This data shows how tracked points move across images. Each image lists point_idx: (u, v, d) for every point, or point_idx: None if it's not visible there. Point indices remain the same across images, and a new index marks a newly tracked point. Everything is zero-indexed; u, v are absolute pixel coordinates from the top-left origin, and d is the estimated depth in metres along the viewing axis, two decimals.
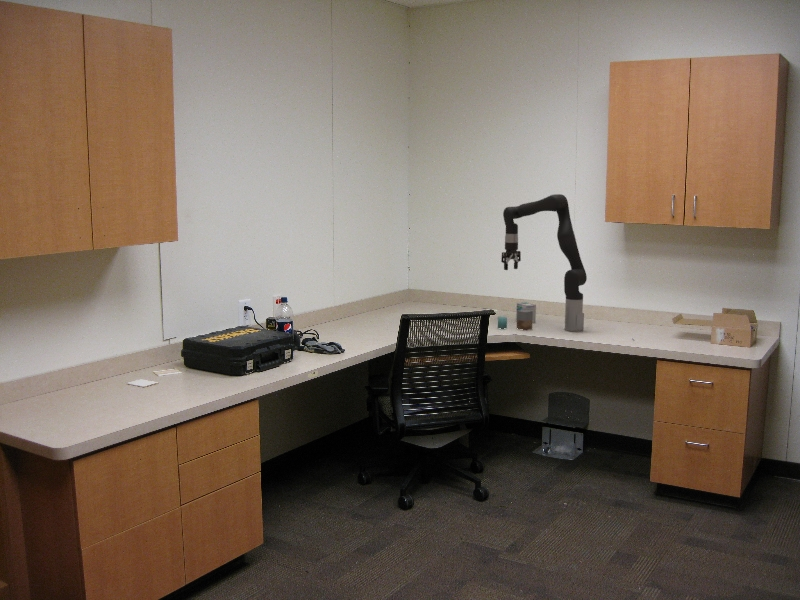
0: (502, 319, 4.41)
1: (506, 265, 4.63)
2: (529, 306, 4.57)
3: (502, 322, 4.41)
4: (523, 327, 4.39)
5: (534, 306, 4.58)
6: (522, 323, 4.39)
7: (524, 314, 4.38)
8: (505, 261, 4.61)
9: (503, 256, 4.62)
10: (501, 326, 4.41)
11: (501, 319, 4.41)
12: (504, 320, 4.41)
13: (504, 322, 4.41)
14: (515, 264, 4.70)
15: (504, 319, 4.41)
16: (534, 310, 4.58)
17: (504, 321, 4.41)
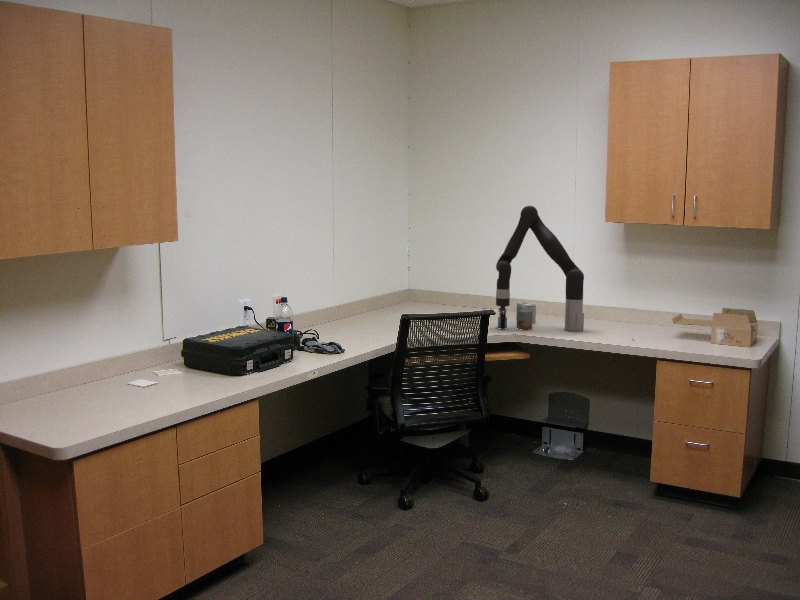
0: None
1: (504, 323, 4.40)
2: (529, 306, 4.57)
3: None
4: (523, 327, 4.39)
5: (534, 306, 4.58)
6: (522, 323, 4.39)
7: (524, 314, 4.37)
8: None
9: (503, 315, 4.36)
10: None
11: None
12: None
13: None
14: None
15: None
16: (534, 310, 4.58)
17: None
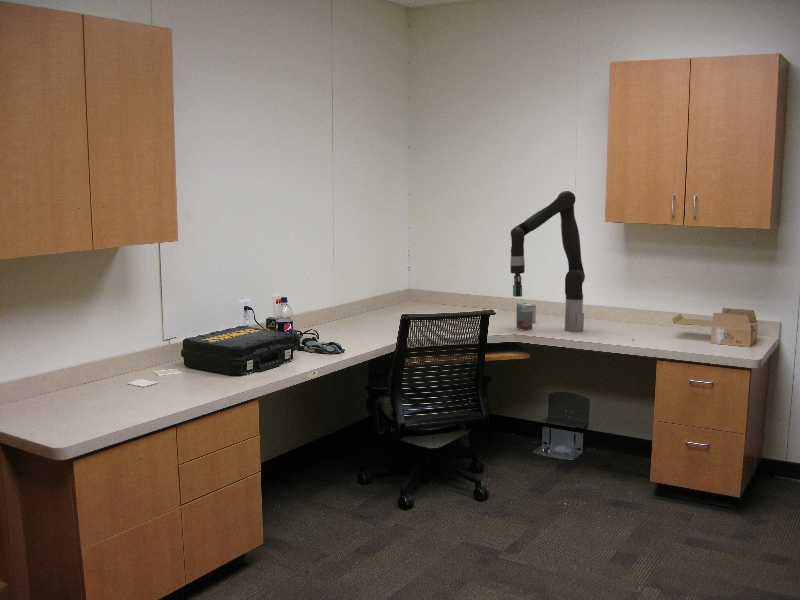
0: None
1: (519, 291, 4.36)
2: (529, 306, 4.57)
3: None
4: (523, 327, 4.39)
5: (534, 306, 4.58)
6: (522, 323, 4.39)
7: (524, 314, 4.37)
8: None
9: (519, 282, 4.33)
10: None
11: None
12: None
13: None
14: None
15: None
16: (534, 310, 4.58)
17: None
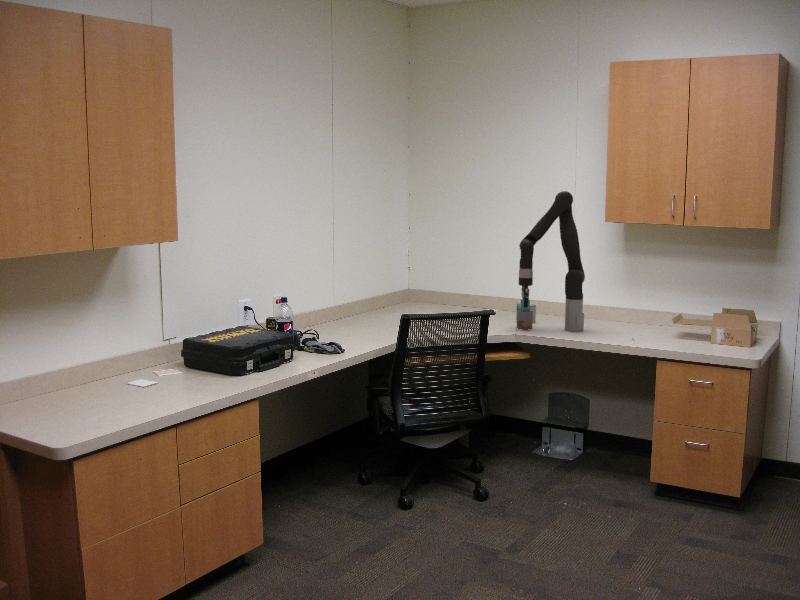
0: None
1: (527, 302, 4.35)
2: None
3: None
4: (523, 327, 4.39)
5: (534, 306, 4.58)
6: (523, 323, 4.39)
7: (524, 314, 4.37)
8: (528, 298, 4.33)
9: (526, 293, 4.33)
10: (524, 308, 4.38)
11: None
12: None
13: None
14: None
15: None
16: (534, 310, 4.58)
17: None
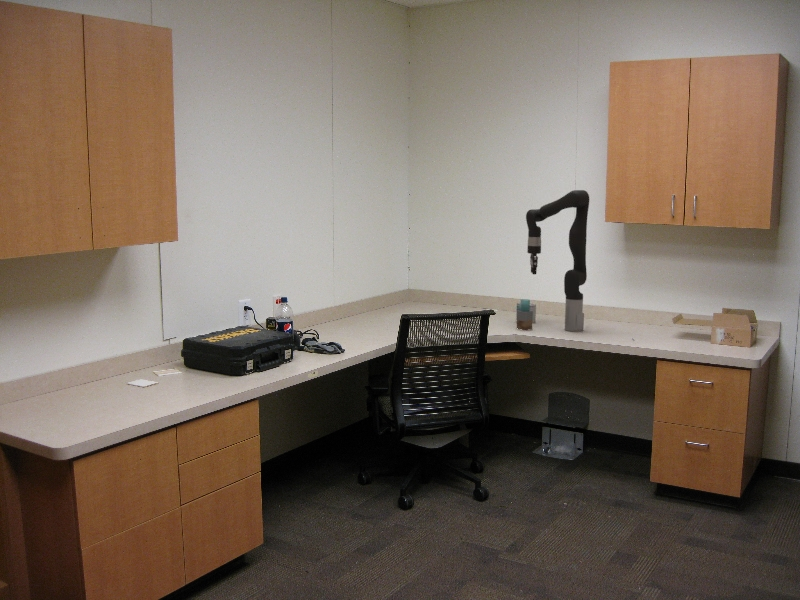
0: (525, 301, 4.38)
1: (535, 269, 4.53)
2: None
3: (525, 305, 4.38)
4: (523, 327, 4.39)
5: (534, 306, 4.58)
6: (523, 323, 4.39)
7: (524, 314, 4.37)
8: (537, 265, 4.51)
9: (535, 260, 4.50)
10: (524, 308, 4.38)
11: (524, 301, 4.38)
12: (527, 302, 4.38)
13: (527, 304, 4.38)
14: None
15: (527, 301, 4.38)
16: (534, 310, 4.58)
17: (527, 304, 4.38)
